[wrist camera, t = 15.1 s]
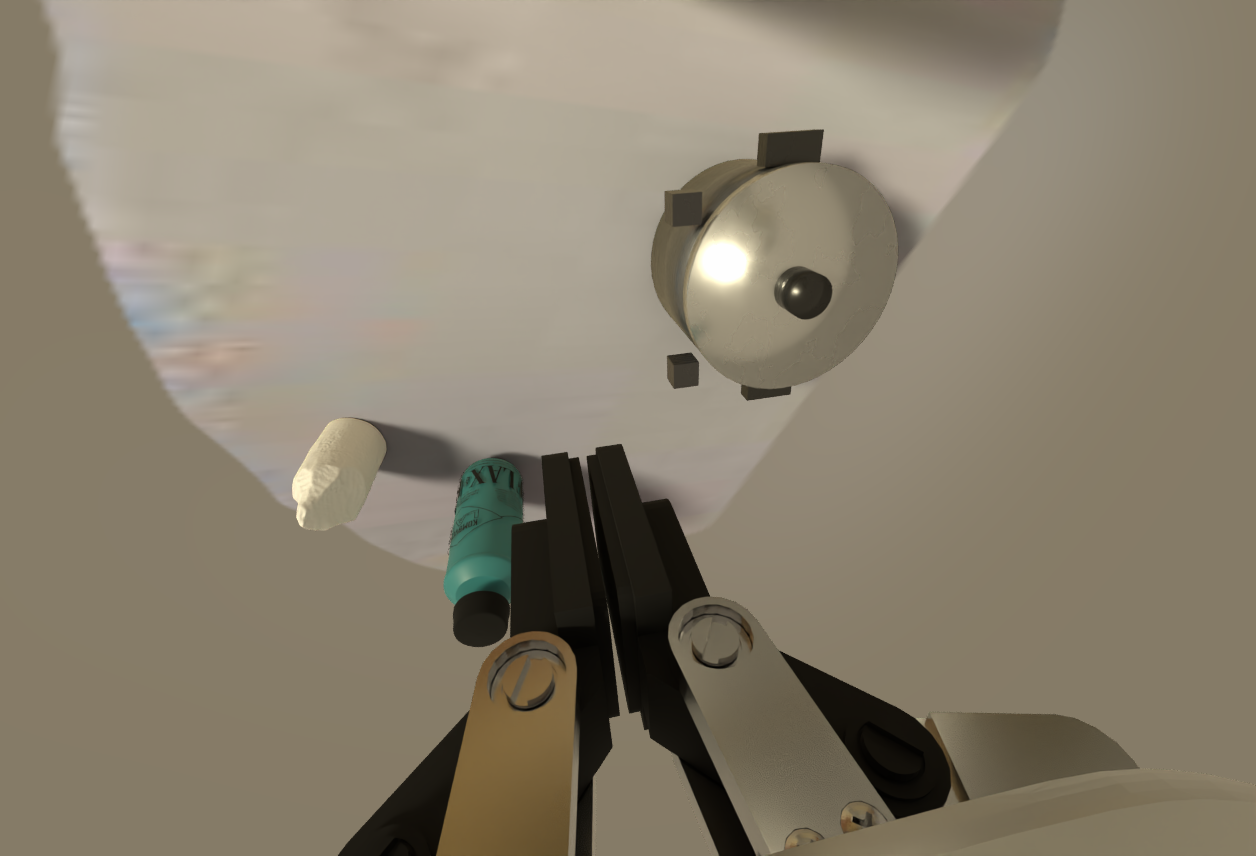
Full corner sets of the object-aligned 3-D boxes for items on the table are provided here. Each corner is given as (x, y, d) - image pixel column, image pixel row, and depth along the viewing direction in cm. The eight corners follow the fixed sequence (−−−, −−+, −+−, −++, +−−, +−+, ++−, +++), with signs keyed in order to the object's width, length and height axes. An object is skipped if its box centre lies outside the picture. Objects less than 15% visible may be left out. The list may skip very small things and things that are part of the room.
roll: (370, 532, 40) (311, 564, 40) (399, 451, 50) (352, 477, 50) (311, 482, 37) (249, 517, 37) (355, 406, 47) (306, 434, 47)
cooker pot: (634, 138, 40) (672, 140, 31) (830, 125, 43) (921, 123, 33) (644, 367, 51) (674, 421, 41) (801, 346, 53) (864, 393, 43)
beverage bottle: (534, 463, 54) (544, 614, 37) (504, 507, 56) (499, 669, 39) (478, 437, 51) (460, 589, 34) (448, 485, 53) (417, 650, 36)
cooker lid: (683, 171, 33) (700, 175, 30) (910, 153, 35) (947, 155, 32) (682, 395, 41) (696, 416, 38) (865, 369, 43) (892, 387, 40)
